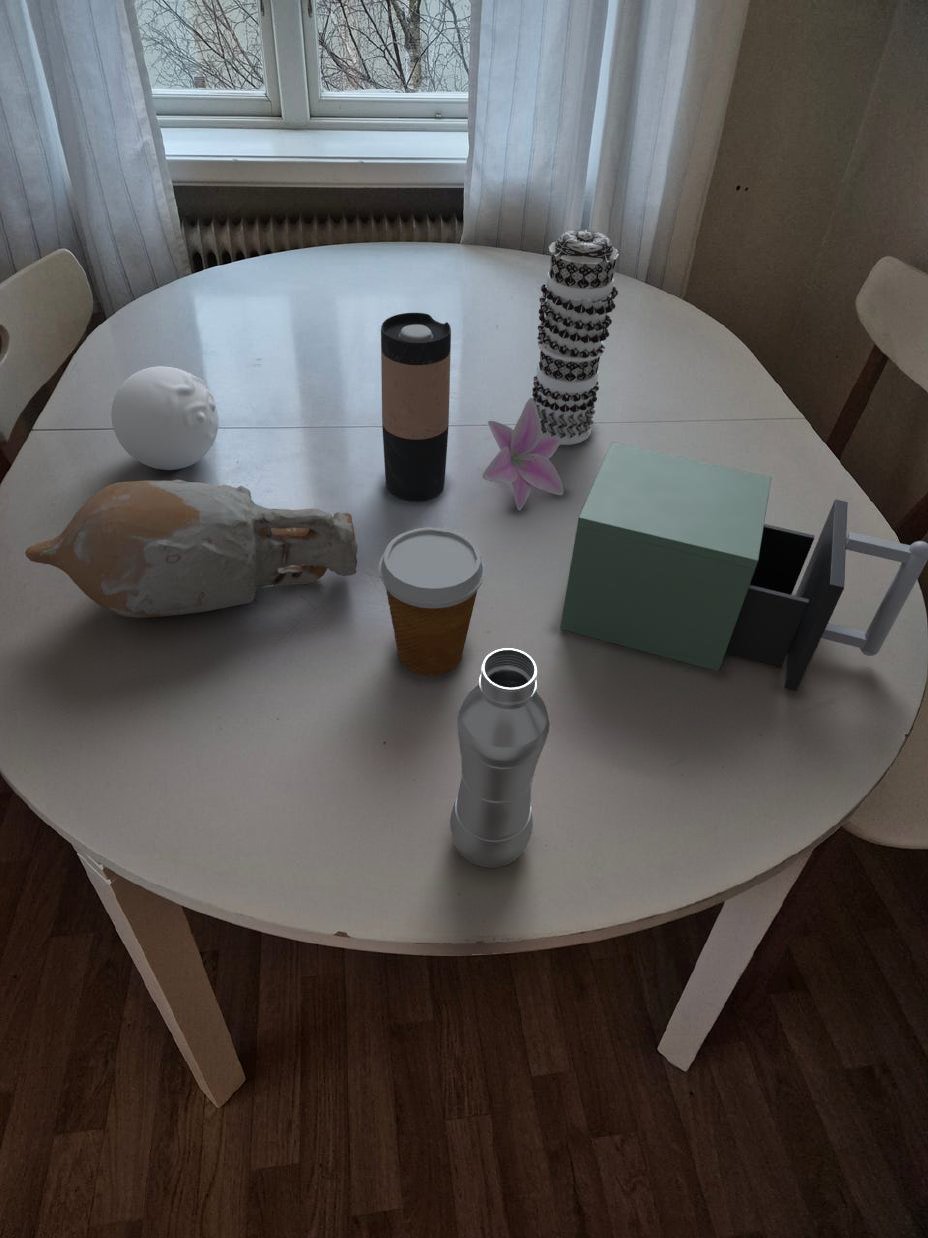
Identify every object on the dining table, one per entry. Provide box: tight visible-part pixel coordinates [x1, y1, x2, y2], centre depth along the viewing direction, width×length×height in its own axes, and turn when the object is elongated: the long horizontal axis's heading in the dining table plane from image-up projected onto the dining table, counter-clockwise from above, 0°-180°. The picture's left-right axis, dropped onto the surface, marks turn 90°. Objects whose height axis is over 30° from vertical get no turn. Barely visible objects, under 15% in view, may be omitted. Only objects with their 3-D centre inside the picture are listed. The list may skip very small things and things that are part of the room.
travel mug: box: [380, 312, 452, 502], centre depth 98 cm, size 8×8×20 cm
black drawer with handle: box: [725, 499, 928, 692], centre depth 83 cm, size 22×14×15 cm, turn 70°
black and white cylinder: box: [531, 229, 620, 446], centre depth 107 cm, size 9×9×25 cm
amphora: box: [25, 479, 359, 619], centre depth 84 cm, size 14×16×30 cm
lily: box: [481, 397, 565, 511], centre depth 103 cm, size 12×12×10 cm
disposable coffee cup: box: [378, 526, 487, 676], centre depth 80 cm, size 10×10×12 cm
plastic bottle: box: [449, 647, 550, 869], centre depth 62 cm, size 6×7×20 cm
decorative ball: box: [110, 365, 220, 471], centre depth 102 cm, size 12×12×12 cm
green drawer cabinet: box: [559, 441, 772, 672], centre depth 86 cm, size 16×14×14 cm
